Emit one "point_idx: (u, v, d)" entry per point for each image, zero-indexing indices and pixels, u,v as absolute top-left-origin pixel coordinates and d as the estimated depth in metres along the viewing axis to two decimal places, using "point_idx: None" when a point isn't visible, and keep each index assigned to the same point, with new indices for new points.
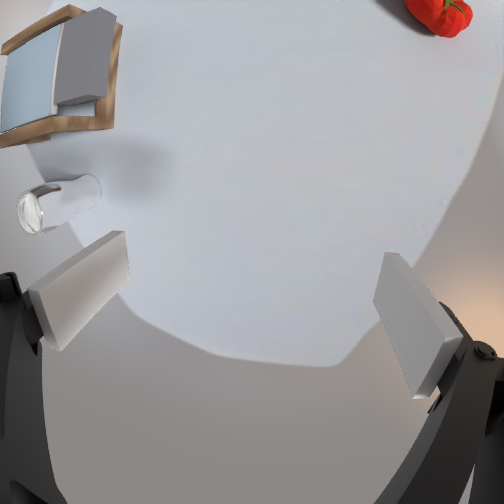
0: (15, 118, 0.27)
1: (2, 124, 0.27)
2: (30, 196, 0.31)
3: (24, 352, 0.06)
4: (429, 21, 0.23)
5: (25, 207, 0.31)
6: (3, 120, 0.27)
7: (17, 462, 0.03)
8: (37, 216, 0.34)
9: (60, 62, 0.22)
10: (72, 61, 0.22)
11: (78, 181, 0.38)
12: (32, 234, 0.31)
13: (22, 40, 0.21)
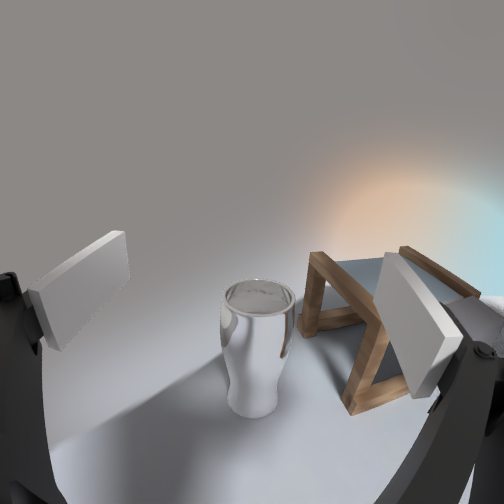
0: (356, 277, 0.34)
1: (340, 263, 0.38)
2: (269, 303, 0.29)
3: (24, 352, 0.06)
4: None
5: (255, 295, 0.29)
6: (344, 264, 0.38)
7: (17, 462, 0.03)
8: None
9: (448, 307, 0.24)
10: (459, 319, 0.22)
11: None
12: None
13: (425, 264, 0.37)
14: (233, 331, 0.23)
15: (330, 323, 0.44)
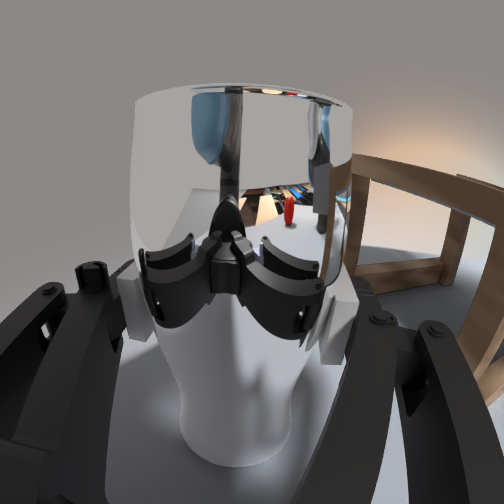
0: None
1: None
2: None
3: (102, 351, 0.07)
4: None
5: None
6: None
7: (68, 476, 0.03)
8: None
9: None
10: None
11: None
12: None
13: (500, 189, 0.20)
14: (147, 179, 0.06)
15: None
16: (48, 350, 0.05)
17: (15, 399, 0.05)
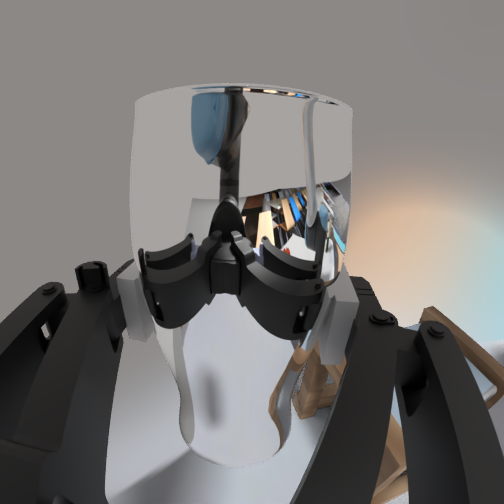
0: None
1: None
2: None
3: (102, 351, 0.07)
4: None
5: None
6: None
7: (67, 476, 0.03)
8: None
9: None
10: None
11: None
12: None
13: (455, 337, 0.26)
14: (147, 180, 0.06)
15: (332, 400, 0.33)
16: (48, 350, 0.05)
17: (15, 399, 0.05)
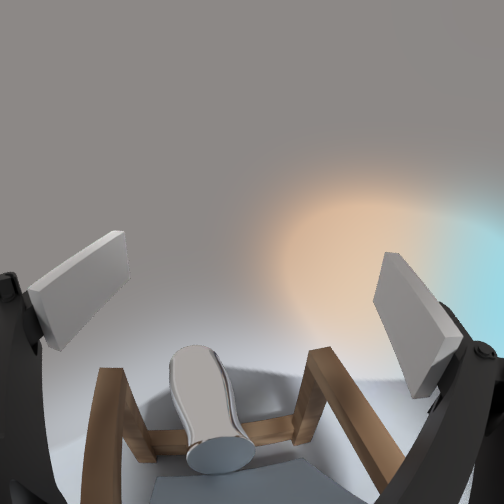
0: (166, 499, 0.14)
1: (170, 479, 0.18)
2: None
3: (24, 352, 0.06)
4: None
5: None
6: (175, 480, 0.18)
7: (17, 463, 0.03)
8: None
9: None
10: None
11: (233, 413, 0.23)
12: None
13: (343, 411, 0.16)
14: (170, 368, 0.30)
15: (180, 449, 0.23)
16: None
17: None
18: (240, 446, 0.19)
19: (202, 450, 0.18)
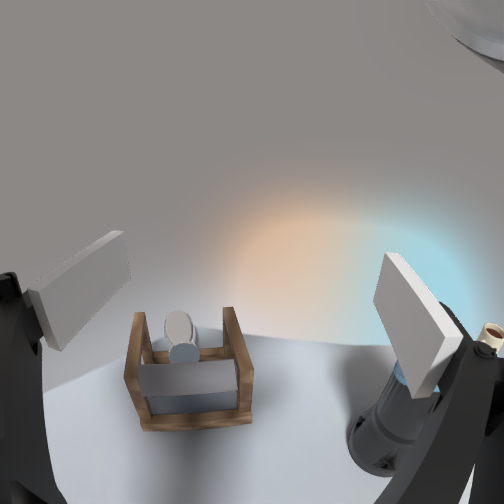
0: None
1: None
2: None
3: (24, 352, 0.06)
4: None
5: None
6: None
7: (17, 462, 0.03)
8: None
9: None
10: (178, 363, 0.34)
11: (192, 338, 0.54)
12: None
13: (228, 329, 0.48)
14: (165, 322, 0.61)
15: (167, 361, 0.54)
16: None
17: None
18: (192, 350, 0.51)
19: (175, 350, 0.50)
